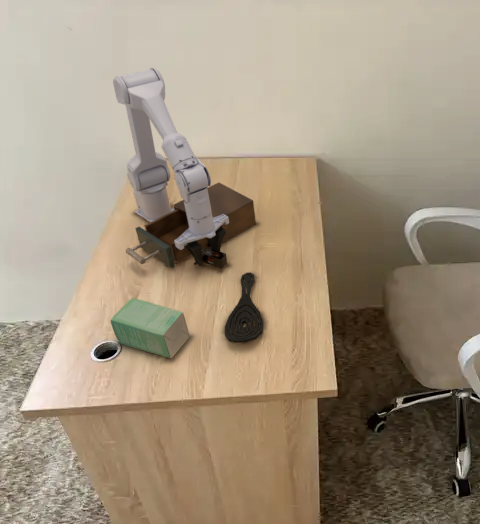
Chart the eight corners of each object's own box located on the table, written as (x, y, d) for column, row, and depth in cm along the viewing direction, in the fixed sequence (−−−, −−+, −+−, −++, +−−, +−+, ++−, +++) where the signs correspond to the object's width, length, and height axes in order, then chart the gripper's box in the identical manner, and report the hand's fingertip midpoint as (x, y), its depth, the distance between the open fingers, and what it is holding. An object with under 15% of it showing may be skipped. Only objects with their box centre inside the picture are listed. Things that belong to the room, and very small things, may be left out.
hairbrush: (265, 264, 139) (260, 335, 119) (266, 277, 141) (262, 348, 121) (230, 266, 138) (220, 338, 118) (232, 278, 141) (222, 351, 120)
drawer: (151, 279, 138) (146, 259, 134) (121, 257, 144) (115, 238, 141) (216, 242, 150) (213, 222, 146) (186, 223, 156) (182, 204, 152)
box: (138, 320, 128) (130, 295, 123) (190, 336, 124) (184, 311, 120) (117, 343, 123) (107, 318, 118) (171, 360, 119) (164, 335, 114)
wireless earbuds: (205, 256, 146) (204, 245, 144) (228, 264, 143) (227, 253, 141) (193, 266, 142) (191, 255, 140) (217, 274, 140) (215, 264, 138)
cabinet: (212, 249, 148) (207, 225, 144) (178, 228, 156) (173, 204, 151) (256, 224, 157) (253, 200, 153) (222, 205, 165) (218, 182, 160)
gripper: (183, 233, 128) (194, 279, 136) (234, 206, 136) (240, 251, 145) (164, 221, 131) (175, 267, 140) (215, 195, 140) (222, 240, 148)
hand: (207, 258), depth 142 cm, fingers closed on wireless earbuds, 5 cm apart
